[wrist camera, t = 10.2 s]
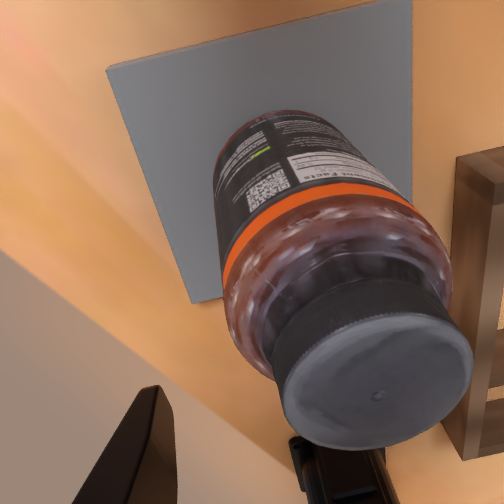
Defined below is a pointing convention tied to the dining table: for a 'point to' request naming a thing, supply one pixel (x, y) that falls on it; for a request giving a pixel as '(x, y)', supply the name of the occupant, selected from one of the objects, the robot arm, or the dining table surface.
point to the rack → (479, 299)
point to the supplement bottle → (335, 285)
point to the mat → (264, 110)
